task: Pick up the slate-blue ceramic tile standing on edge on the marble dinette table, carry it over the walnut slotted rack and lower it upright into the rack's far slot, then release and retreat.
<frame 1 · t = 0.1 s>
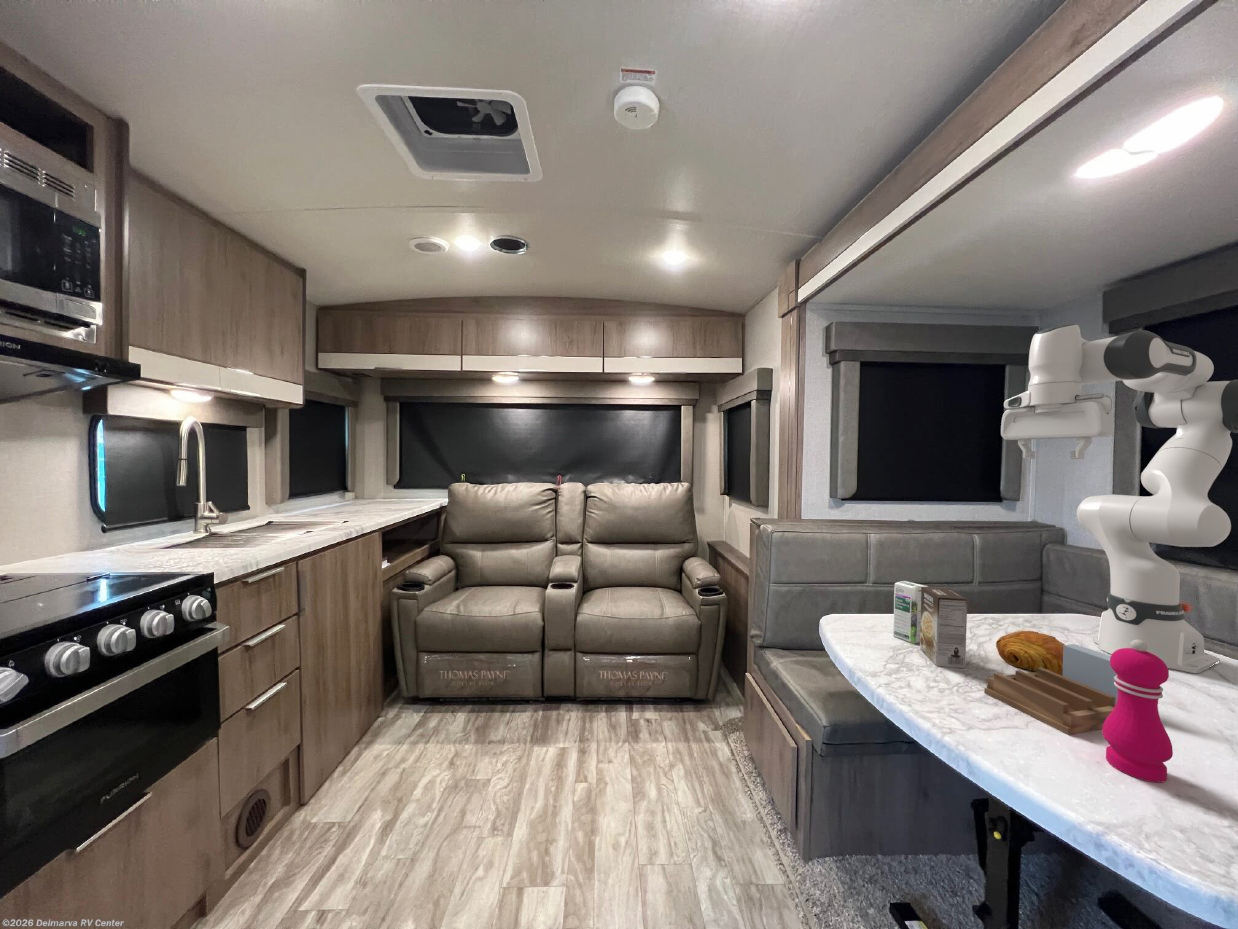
hand: (1052, 459, 104), 48 cm above the table, fingers open, 8 cm apart
pepper mill: (1135, 770, 71), on the table
rack: (1050, 707, 88), on the table
croissant: (1038, 665, 107), on the table
coffee box: (941, 659, 109), on the table
syrup box: (909, 639, 122), on the table
tile: (1094, 698, 92), on the table
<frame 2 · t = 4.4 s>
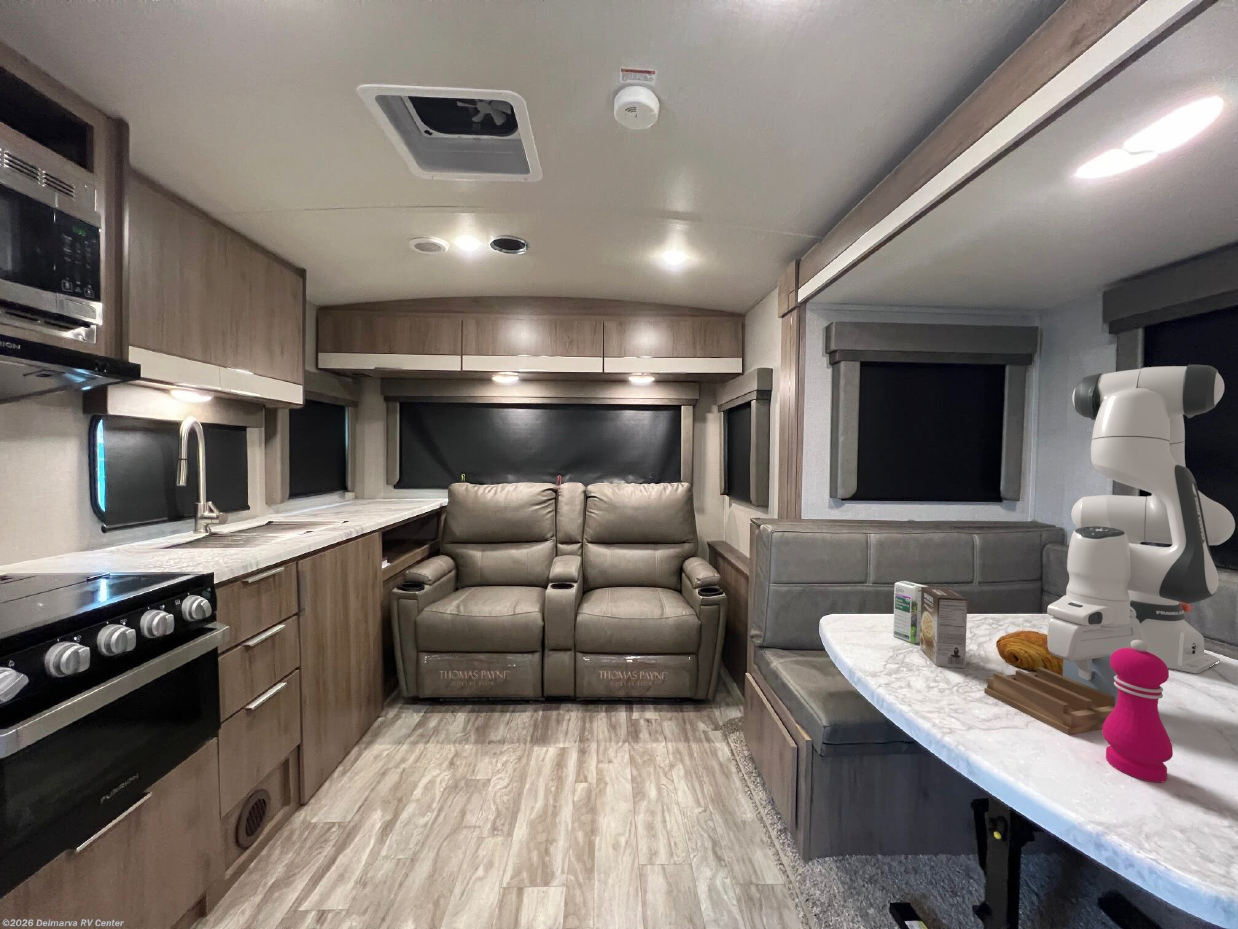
hand: (1094, 677, 92), 4 cm above the table, fingers closed on tile, 3 cm apart
tile: (1094, 697, 92), on the table, touching gripper
everything else where it was.
when the fingers open (6 cm above the table, at t = 11.0 s): tile stays where it is, resting on rack.
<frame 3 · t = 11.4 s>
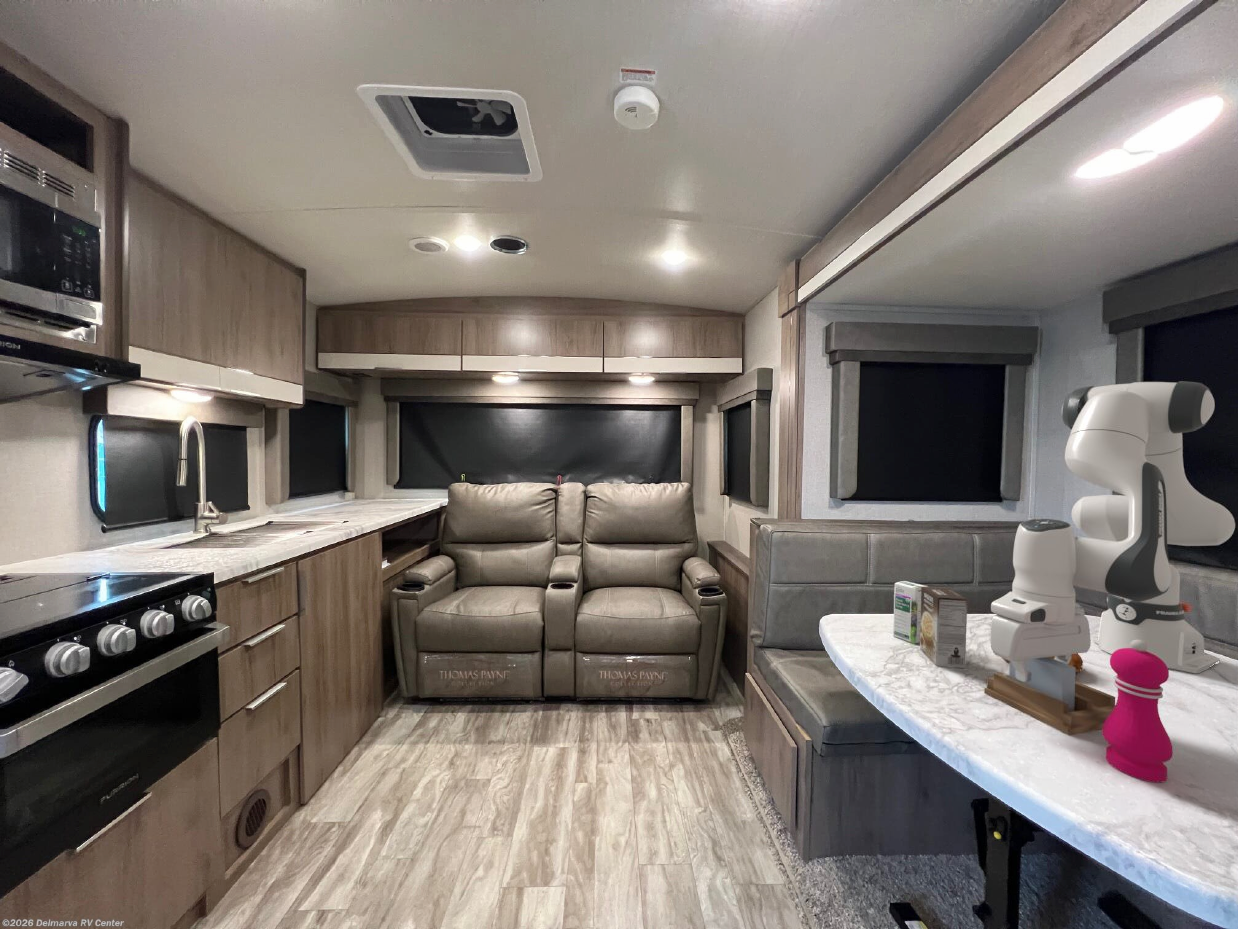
hand: (1040, 677, 87), 6 cm above the table, fingers open, 7 cm apart
tile: (1039, 704, 87), point 1 cm above the table, touching rack
everything else where it was.
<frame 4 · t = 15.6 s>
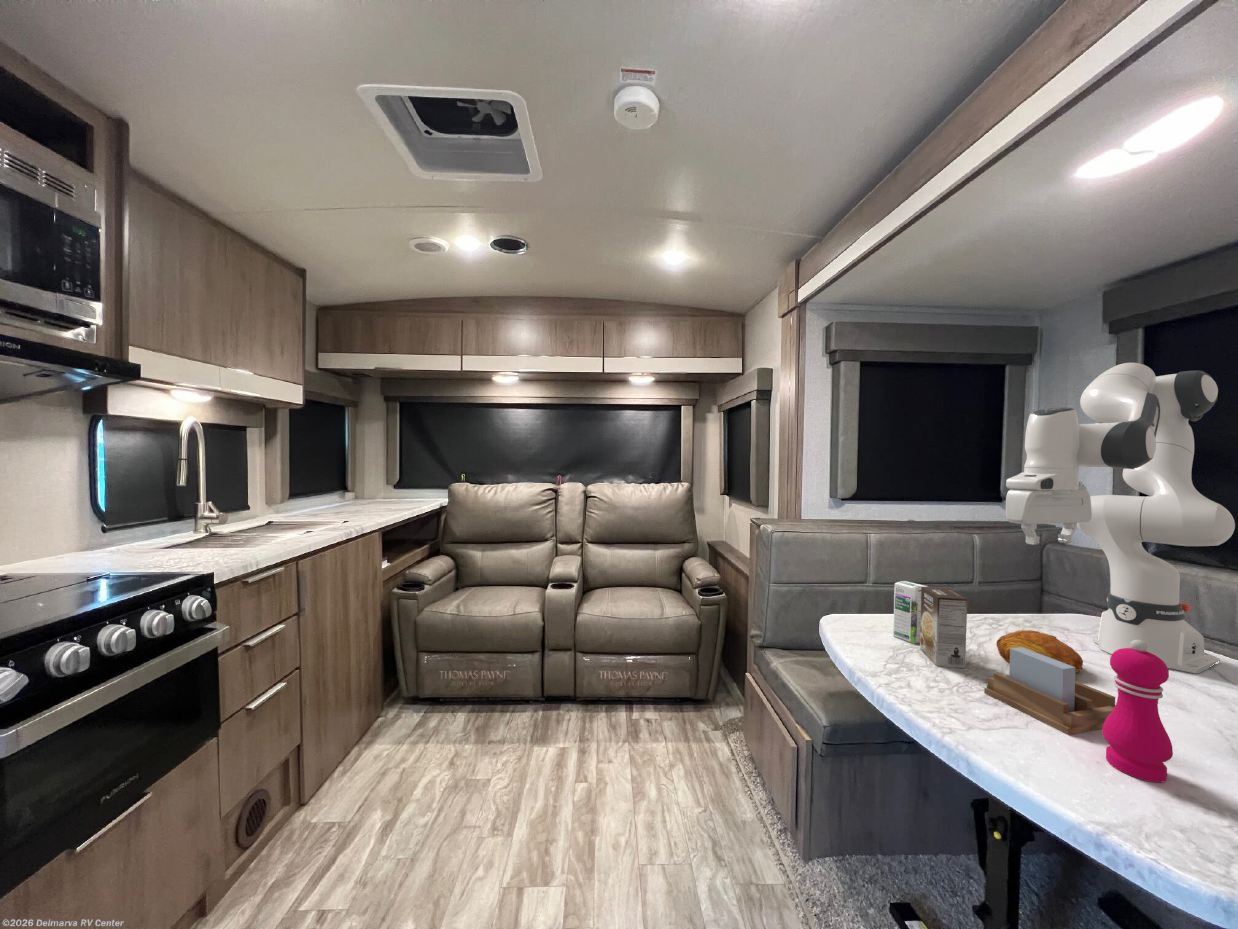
hand: (1048, 543, 102), 29 cm above the table, fingers open, 8 cm apart
nothing on the table moved.
at the end: tile 0.1 cm from the target spot on the rack, point 1.0 cm above the rack's base; tile tilted 0°; the gripper is holding nothing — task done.
